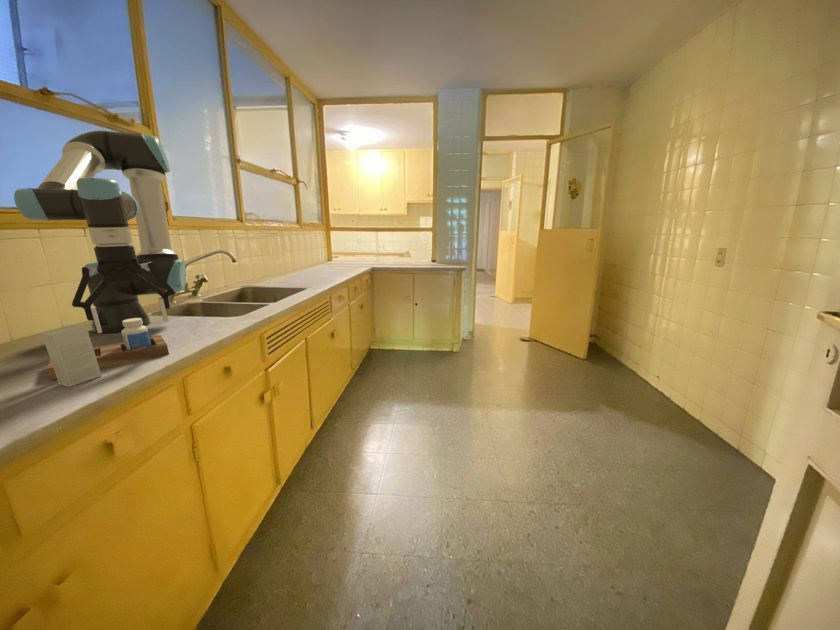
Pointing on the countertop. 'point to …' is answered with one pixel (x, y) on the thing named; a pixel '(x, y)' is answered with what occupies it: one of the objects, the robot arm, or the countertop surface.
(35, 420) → the countertop surface
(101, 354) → the socket block
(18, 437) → the countertop surface
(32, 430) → the countertop surface
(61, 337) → the skincare box
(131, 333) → the pill bottle
